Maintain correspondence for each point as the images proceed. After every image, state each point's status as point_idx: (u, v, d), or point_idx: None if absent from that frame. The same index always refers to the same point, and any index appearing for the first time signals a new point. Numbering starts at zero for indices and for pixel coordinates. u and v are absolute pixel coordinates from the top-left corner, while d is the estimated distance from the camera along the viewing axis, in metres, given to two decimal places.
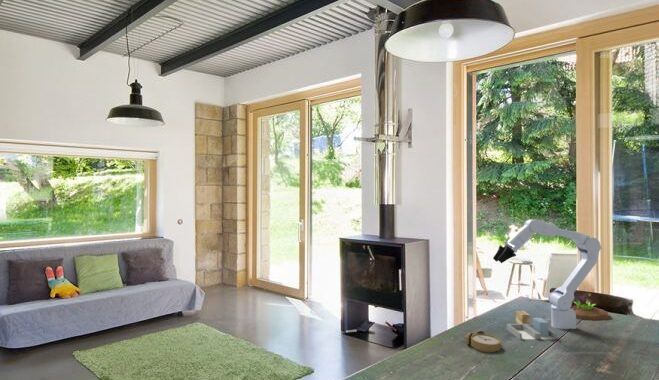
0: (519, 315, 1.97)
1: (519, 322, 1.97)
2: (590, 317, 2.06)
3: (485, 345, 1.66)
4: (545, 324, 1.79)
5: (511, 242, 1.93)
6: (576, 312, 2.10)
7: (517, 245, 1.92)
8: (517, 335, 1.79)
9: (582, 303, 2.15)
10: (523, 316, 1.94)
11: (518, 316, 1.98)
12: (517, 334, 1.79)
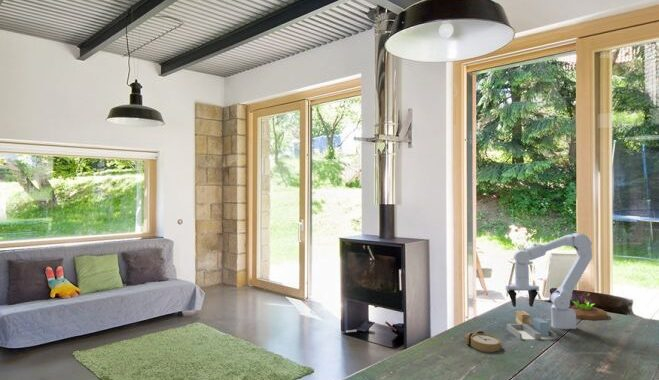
0: (519, 315, 1.97)
1: (519, 322, 1.97)
2: (587, 317, 2.06)
3: (485, 345, 1.66)
4: (545, 324, 1.79)
5: None
6: None
7: (516, 282, 1.97)
8: (517, 335, 1.79)
9: (581, 303, 2.15)
10: (523, 316, 1.94)
11: (518, 316, 1.98)
12: (517, 334, 1.79)
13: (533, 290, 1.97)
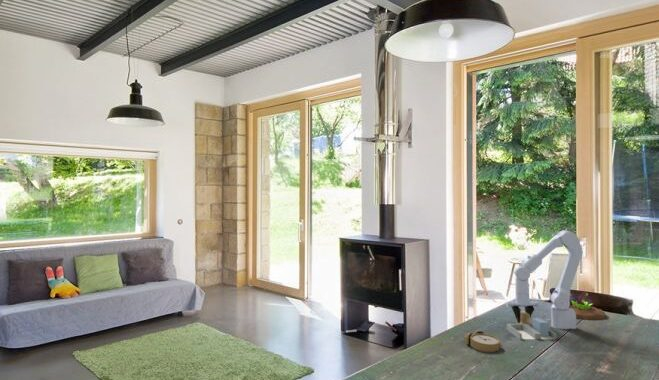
0: None
1: None
2: (583, 316, 2.07)
3: (485, 345, 1.66)
4: (545, 324, 1.79)
5: None
6: None
7: (517, 299, 1.97)
8: (517, 335, 1.79)
9: (579, 302, 2.16)
10: (523, 316, 1.94)
11: None
12: (517, 334, 1.79)
13: (533, 306, 1.97)
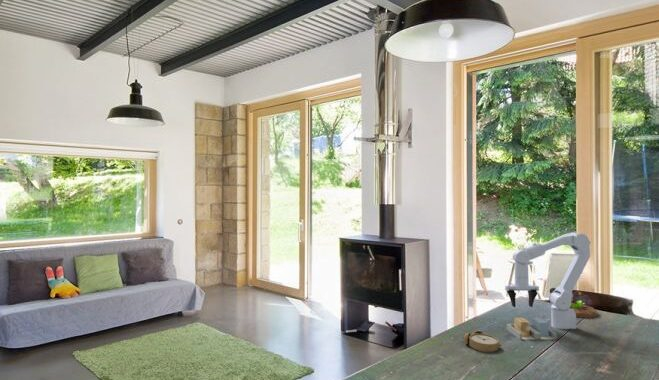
0: (518, 322, 1.83)
1: (518, 330, 1.83)
2: None
3: (484, 345, 1.66)
4: (545, 324, 1.79)
5: None
6: None
7: (516, 282, 1.95)
8: (517, 335, 1.79)
9: (571, 301, 2.19)
10: (522, 323, 1.80)
11: (516, 323, 1.84)
12: (517, 334, 1.79)
13: (533, 290, 1.95)
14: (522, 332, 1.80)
